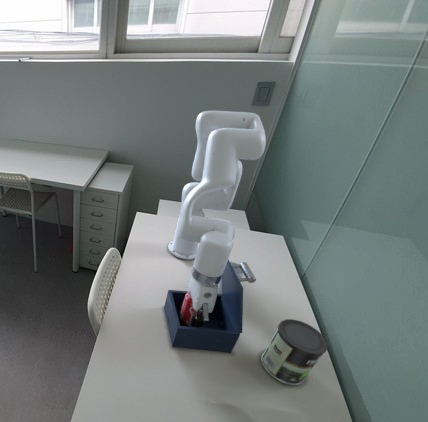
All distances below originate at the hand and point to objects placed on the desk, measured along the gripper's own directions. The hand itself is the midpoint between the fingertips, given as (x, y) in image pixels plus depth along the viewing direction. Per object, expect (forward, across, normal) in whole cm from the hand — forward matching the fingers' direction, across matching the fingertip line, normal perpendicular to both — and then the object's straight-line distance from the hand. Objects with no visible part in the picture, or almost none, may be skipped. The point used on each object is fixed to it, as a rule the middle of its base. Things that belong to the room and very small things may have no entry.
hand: (192, 314), depth 93 cm
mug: (+7, +18, -17) cm, 26 cm away
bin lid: (-11, 0, -8) cm, 14 cm away
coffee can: (+6, -10, -23) cm, 26 cm away
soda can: (+3, 0, 0) cm, 3 cm away
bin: (+6, 0, -2) cm, 7 cm away
